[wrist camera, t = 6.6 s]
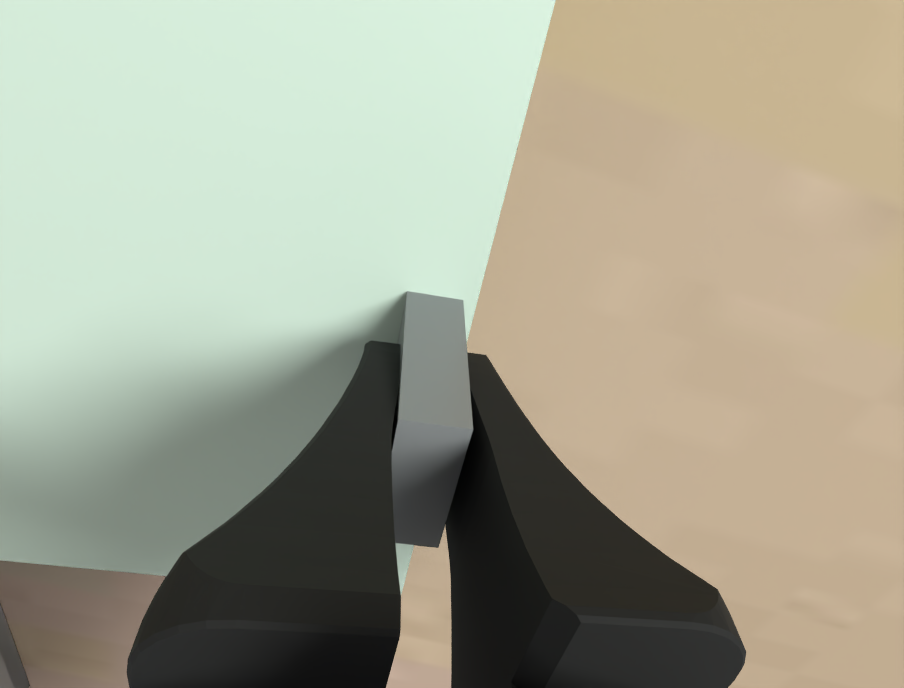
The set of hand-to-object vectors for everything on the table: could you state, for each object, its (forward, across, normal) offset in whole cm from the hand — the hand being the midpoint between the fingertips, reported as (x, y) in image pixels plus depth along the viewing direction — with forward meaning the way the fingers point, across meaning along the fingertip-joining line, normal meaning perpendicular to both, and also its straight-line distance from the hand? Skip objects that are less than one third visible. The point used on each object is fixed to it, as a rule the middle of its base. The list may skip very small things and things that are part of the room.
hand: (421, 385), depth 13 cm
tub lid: (+2, +5, 0) cm, 5 cm away
